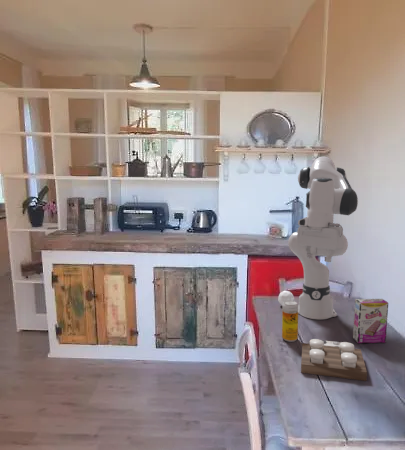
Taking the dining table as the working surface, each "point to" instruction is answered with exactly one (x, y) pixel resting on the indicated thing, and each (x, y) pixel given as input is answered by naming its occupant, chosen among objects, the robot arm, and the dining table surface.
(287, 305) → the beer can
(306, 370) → the button board
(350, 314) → the dining table surface
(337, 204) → the robot arm
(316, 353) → the button
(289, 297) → the geometric ball
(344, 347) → the button
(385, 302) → the candy bar box
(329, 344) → the pattern plaque
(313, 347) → the button
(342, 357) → the button
